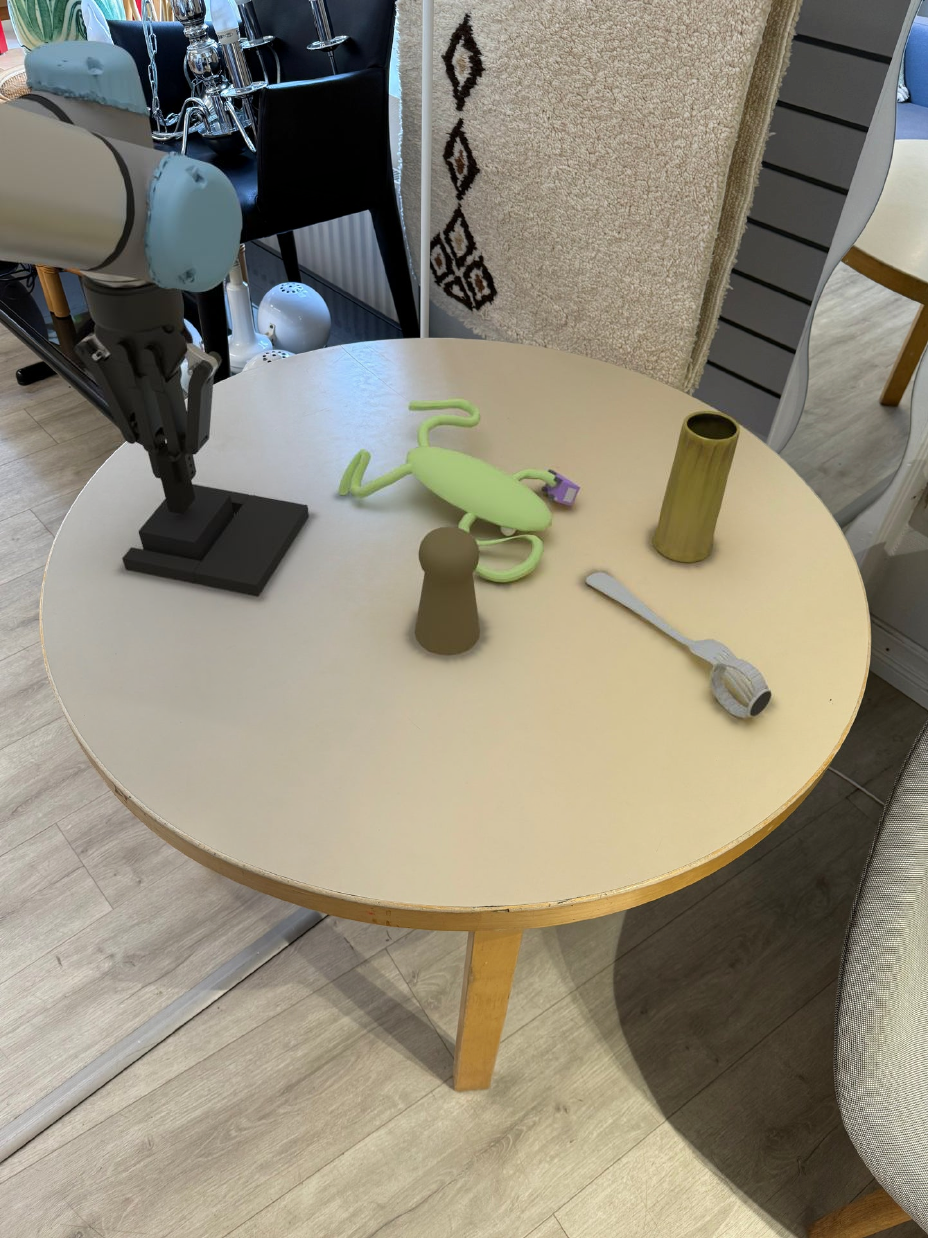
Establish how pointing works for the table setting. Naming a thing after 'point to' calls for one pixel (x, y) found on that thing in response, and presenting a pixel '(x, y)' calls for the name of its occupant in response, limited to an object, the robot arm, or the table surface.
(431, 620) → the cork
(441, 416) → the figurine
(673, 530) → the vase
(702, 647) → the fork
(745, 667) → the ring
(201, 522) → the charcoal pad
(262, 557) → the black pad
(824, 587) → the table surface
